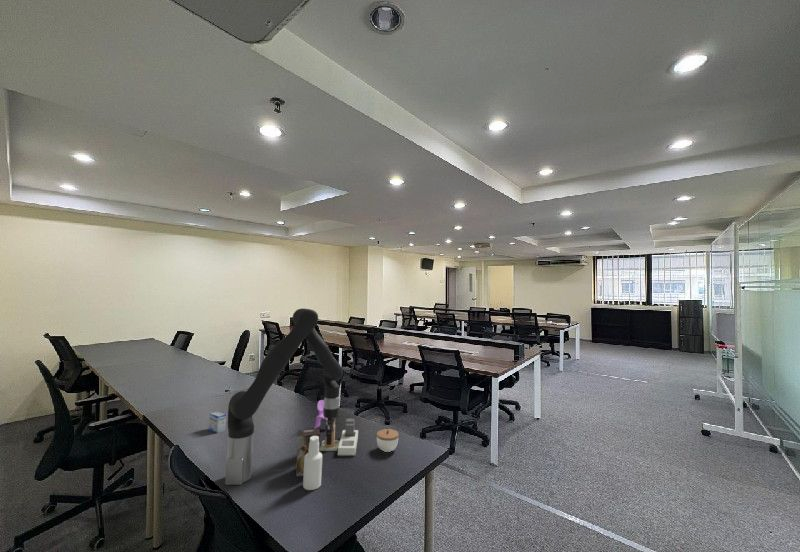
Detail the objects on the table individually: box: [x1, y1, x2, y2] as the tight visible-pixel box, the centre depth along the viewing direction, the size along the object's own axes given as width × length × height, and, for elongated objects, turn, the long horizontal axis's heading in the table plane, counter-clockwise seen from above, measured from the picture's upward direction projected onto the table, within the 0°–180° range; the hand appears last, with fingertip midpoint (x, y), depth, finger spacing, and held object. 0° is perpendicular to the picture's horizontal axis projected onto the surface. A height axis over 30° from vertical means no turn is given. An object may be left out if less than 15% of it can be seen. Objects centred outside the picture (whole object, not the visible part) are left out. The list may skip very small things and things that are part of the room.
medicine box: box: [208, 411, 227, 434], centre depth 170 cm, size 8×4×9 cm, turn 62°
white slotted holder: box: [337, 418, 359, 457], centre depth 156 cm, size 20×8×11 cm, turn 4°
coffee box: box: [296, 428, 321, 477], centre depth 133 cm, size 9×6×16 cm
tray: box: [320, 439, 340, 452], centre depth 154 cm, size 8×8×2 cm
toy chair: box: [313, 399, 328, 429], centre depth 177 cm, size 8×9×15 cm
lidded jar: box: [376, 428, 400, 453], centre depth 154 cm, size 11×11×9 cm
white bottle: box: [302, 436, 323, 491], centre depth 124 cm, size 7×7×18 cm
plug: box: [324, 423, 336, 448], centre depth 154 cm, size 4×4×10 cm
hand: (329, 441), depth 154 cm, fingers open, 5 cm apart
